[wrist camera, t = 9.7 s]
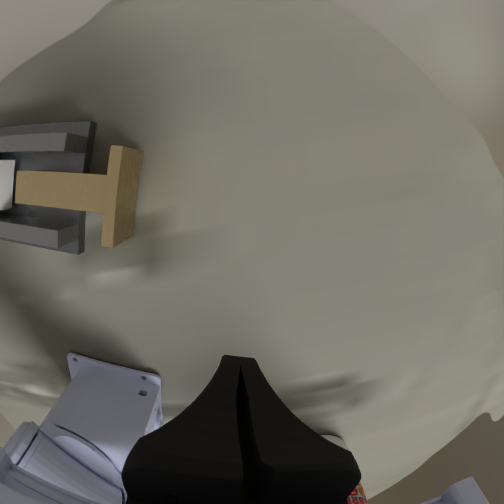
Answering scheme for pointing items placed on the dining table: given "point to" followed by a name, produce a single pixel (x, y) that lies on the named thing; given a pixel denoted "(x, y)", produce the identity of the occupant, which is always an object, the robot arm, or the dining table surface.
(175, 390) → the dining table surface
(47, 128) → the gauge frame
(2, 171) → the pointer
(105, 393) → the robot arm
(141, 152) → the wooden t-shaped block
